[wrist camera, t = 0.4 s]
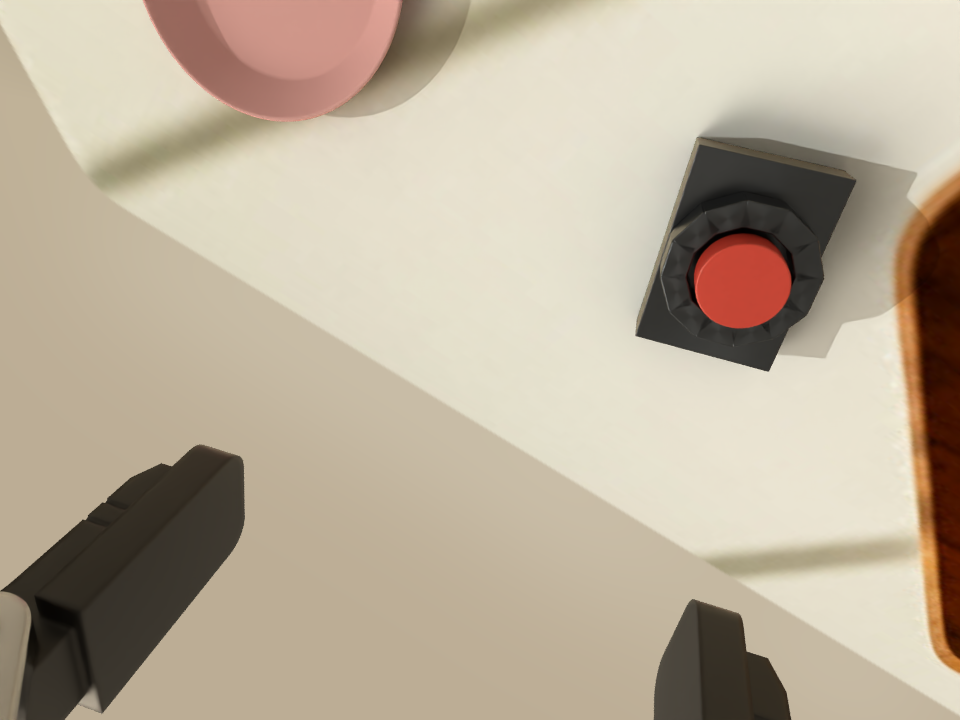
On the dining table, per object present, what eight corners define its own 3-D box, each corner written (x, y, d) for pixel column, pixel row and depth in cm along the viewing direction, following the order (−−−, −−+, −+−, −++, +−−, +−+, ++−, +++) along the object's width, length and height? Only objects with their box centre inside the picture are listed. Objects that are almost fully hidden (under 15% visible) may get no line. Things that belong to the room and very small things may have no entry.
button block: (696, 136, 32) (700, 150, 29) (845, 170, 31) (868, 189, 28) (636, 319, 37) (633, 350, 33) (763, 353, 36) (774, 389, 33)
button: (710, 223, 30) (713, 233, 29) (800, 245, 30) (807, 256, 28) (682, 302, 32) (683, 316, 31) (765, 323, 32) (770, 338, 30)
